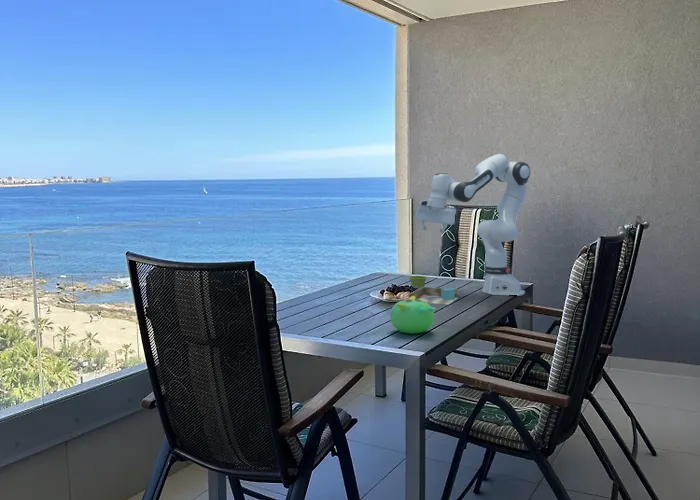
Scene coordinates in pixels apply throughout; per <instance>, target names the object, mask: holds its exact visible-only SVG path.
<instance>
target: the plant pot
mask: <svg viewBox="0 0 700 500" xmlns="http://www.w3.org/2000/svg"><path fill="white" fill-rule="evenodd" d="M409 281H410V286H412V287H414V288H418V289H419V288H421V287H425V284H426V281H427V276H424V275H411V276H410V275H409ZM412 287H411V288H412Z"/></svg>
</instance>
